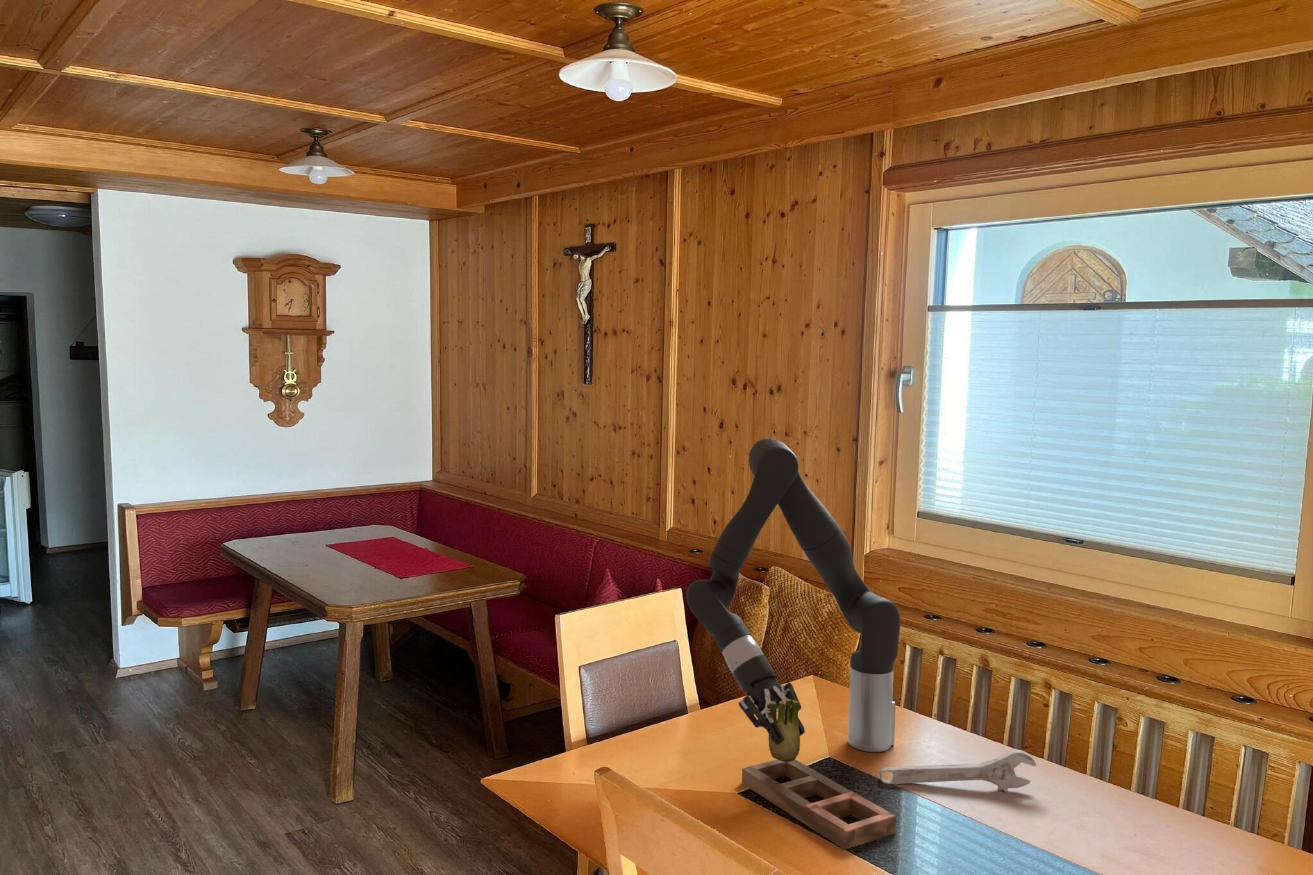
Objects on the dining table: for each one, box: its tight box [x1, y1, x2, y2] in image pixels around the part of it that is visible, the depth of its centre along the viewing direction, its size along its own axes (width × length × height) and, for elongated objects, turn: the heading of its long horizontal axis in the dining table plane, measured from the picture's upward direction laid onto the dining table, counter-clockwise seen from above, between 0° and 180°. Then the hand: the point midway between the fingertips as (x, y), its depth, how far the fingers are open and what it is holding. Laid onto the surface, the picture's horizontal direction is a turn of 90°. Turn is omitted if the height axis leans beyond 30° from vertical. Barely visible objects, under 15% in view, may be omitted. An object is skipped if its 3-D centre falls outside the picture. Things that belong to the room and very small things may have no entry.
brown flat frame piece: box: [741, 759, 897, 850], centre depth 179 cm, size 12×30×3 cm, turn 31°
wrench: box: [879, 749, 1037, 793], centre depth 188 cm, size 8×2×30 cm
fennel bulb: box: [768, 699, 801, 762], centre depth 186 cm, size 6×5×12 cm
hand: (791, 738), depth 185 cm, fingers closed on fennel bulb, 5 cm apart
